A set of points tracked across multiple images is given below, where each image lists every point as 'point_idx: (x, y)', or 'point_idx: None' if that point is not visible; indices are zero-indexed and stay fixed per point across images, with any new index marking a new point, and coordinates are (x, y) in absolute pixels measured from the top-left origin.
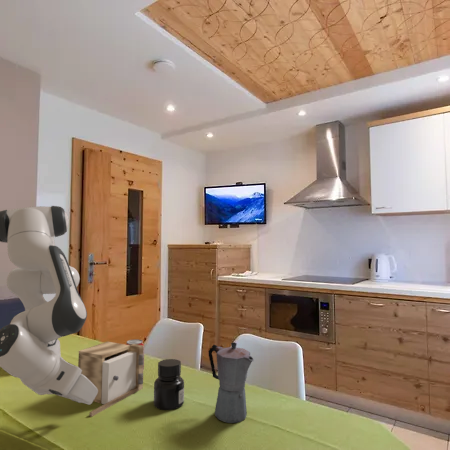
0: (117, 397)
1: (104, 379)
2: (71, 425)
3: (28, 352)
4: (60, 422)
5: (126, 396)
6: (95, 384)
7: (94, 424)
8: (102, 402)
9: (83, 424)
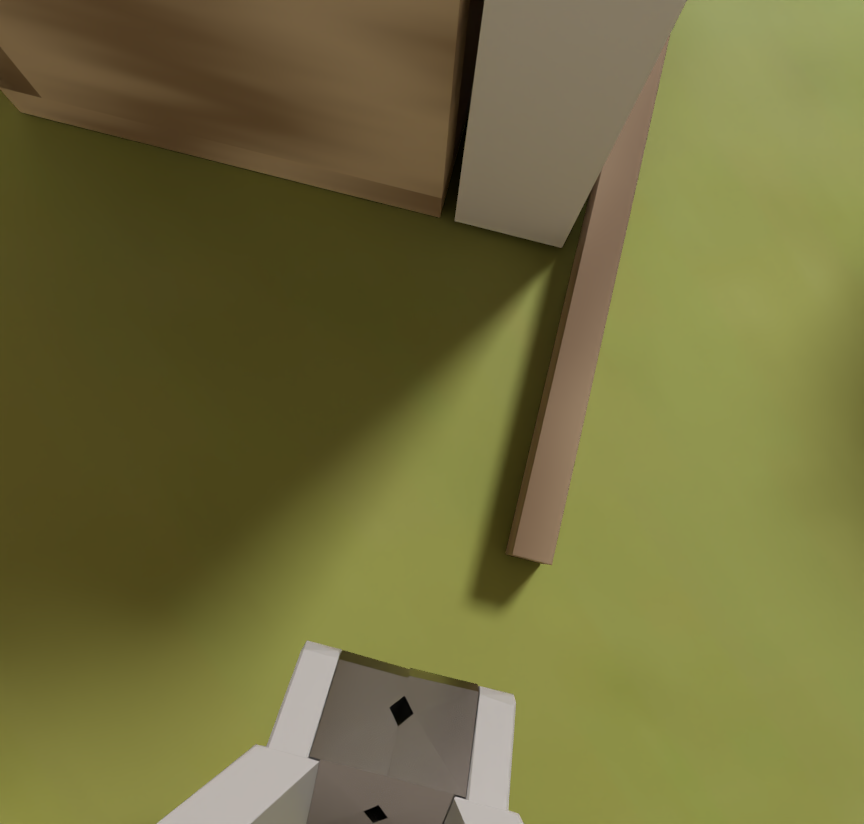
0: None
1: (553, 25)
2: None
3: None
4: None
5: None
6: (311, 50)
7: (683, 710)
8: (474, 218)
9: (549, 743)
